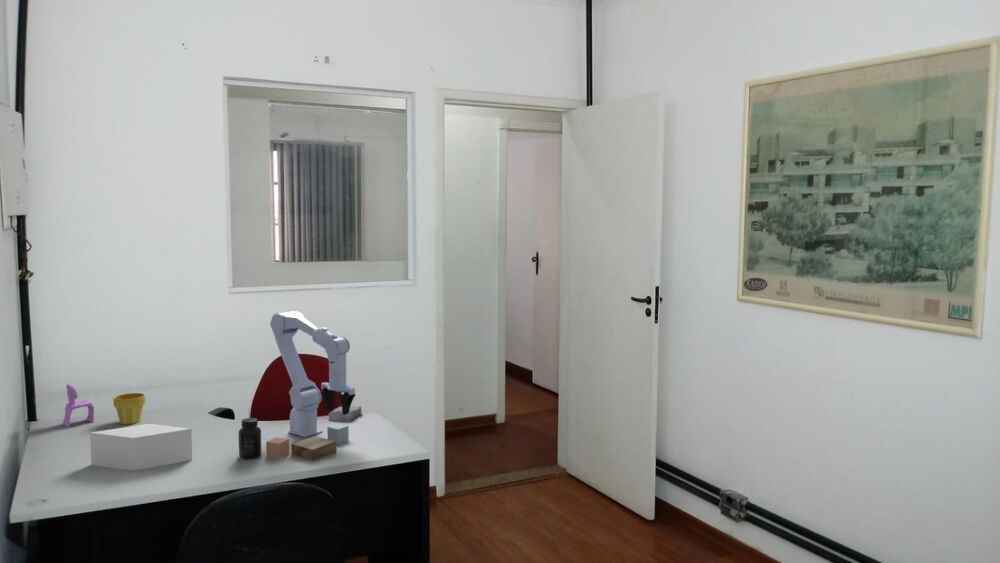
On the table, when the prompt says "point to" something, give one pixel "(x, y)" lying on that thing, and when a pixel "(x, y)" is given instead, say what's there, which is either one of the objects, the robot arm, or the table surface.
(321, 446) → the walnut slab
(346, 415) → the stone block
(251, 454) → the supplement bottle
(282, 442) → the terracotta cube
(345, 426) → the blue-grey cube
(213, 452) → the table surface
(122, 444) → the white foam block
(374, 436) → the table surface
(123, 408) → the plant pot
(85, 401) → the toy chair
